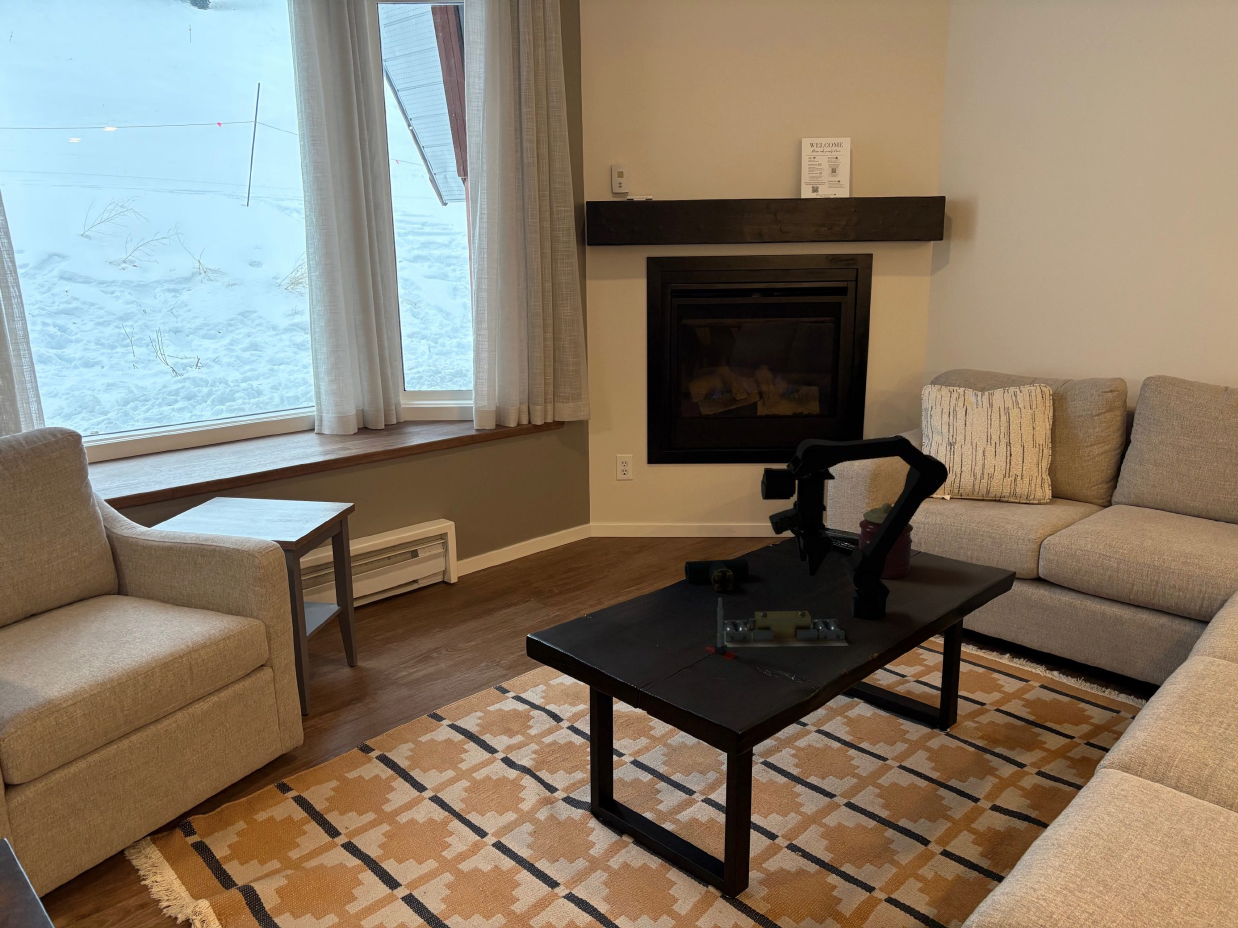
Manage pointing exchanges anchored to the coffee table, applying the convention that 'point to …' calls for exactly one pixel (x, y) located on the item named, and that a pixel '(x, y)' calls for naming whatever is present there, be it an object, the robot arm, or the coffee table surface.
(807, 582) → the coffee table surface
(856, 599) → the robot arm
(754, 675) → the coffee table surface
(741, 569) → the pipe connector
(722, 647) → the gray post stand
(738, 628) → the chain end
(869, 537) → the canister
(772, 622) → the tapered knobbed panel
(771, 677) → the coffee table surface
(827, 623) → the chain end
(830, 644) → the board
